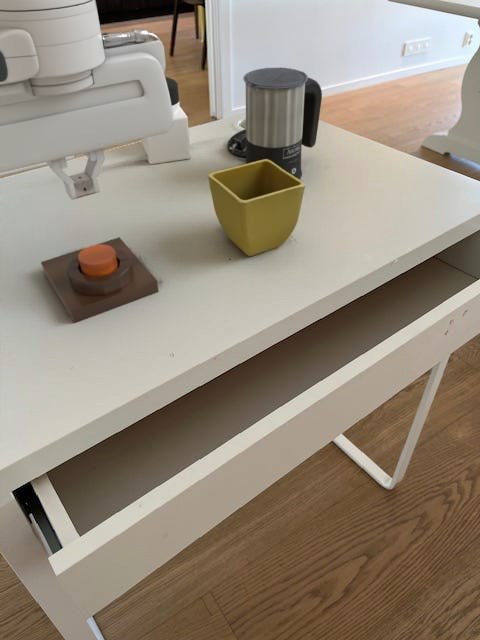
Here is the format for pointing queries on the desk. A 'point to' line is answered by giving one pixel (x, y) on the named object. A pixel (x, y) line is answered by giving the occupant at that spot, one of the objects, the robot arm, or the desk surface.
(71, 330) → the desk surface
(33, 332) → the desk surface
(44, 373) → the desk surface
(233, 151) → the milk frother
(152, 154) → the medicine bottle
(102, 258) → the button
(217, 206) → the flower pot
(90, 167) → the robot arm
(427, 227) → the desk surface
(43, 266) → the button base
